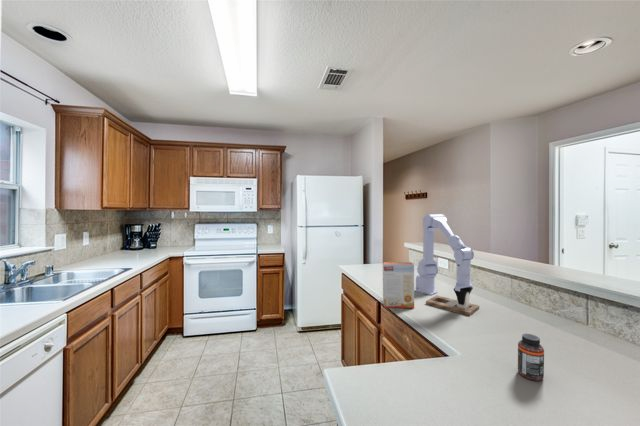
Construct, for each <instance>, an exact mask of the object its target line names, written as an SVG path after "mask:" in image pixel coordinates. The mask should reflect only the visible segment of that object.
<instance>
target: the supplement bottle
mask: <svg viewBox="0 0 640 426" xmlns="http://www.w3.org/2000/svg"><path fill="white" fill-rule="evenodd" d="M521 336H522V337H521V340H519V341H518V342H517V372H518V373H519V374H520V375H521V376H522V377H523V378H525V379H527V380H530V381H533V382H540V381H542V380H544V375H545V348H544V346H542V344H540V343H541V339H540V336H539V337H538V335H535V334H532V333H523V334H522V335H521Z"/></svg>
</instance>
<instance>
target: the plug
mask: <svg viewBox="0 0 640 426" xmlns="http://www.w3.org/2000/svg"><path fill="white" fill-rule="evenodd" d="M456 300H457V307H459V308H463V309H467V310H468V309H469V303H470V295H469V292H467V294H466V296H465V302H464V305H461V304H459V303H458V299H457V298H456Z"/></svg>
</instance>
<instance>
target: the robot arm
mask: <svg viewBox="0 0 640 426" xmlns="http://www.w3.org/2000/svg"><path fill="white" fill-rule="evenodd" d="M436 229H439V230H440V232H442V234H443V235H444V236H445V238H446V239H447V240H446V243H447V244H448V246H449V247H450V249H451V250H452V251H453V258H454V260H455V262H454V263H455V264H456V281H455V286H454V287H453V291H454V293H455V295H456V300H457V299H458V303H459V304H461V305H464V302H465V296H466V294H467V292H469V296H470V294H471V293H472V290H473V288H474V284H472V280H471V262H472V260H473V259H474V257H475V255H474V251H473V249H472V248H471V247H468V246H467V245H466V244H465V243H464V242H463V240H461V239H462V238H461V237H460V236H459V235H455V234H454V232H453V231H452V229H451V227H450V226H449V224H448V219H447V217H446V215H445V214H443V213H433V214H431V213H430V214H429V213H427V214H425V215H424V216H423V217H422V230H423V232H422V233H423V235H422V236H423V239H422V241H423V242H422V258H421V260H419V261H418V265H417V268H416V269H417V275H416V276H415V289H414V292H417V293H421V294H426V295H428V296H432V295H435V294H436V293H438V290H435V288H436V287H435V284H436V282H435V277H437V274H438V272H439V267H438V262H437V260H435V259H434V254H435V253H434V247H435V246H434V244H435V243H434V239H435V237H434V236H435V234H434V233H435V231H436Z"/></svg>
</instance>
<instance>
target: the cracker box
mask: <svg viewBox="0 0 640 426" xmlns="http://www.w3.org/2000/svg"><path fill="white" fill-rule="evenodd" d="M382 303H383V307H384V308H385V309H386V308H390V309H391V308H392V309H393V308H394V309H395V308H396V309H397V308H398V309H415V264H414V263H413V262H411V261H410V262H408V261H404V262H403V261H401V262H400V261H393V262H392V261H386V262H385V261H383V262H382Z"/></svg>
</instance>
